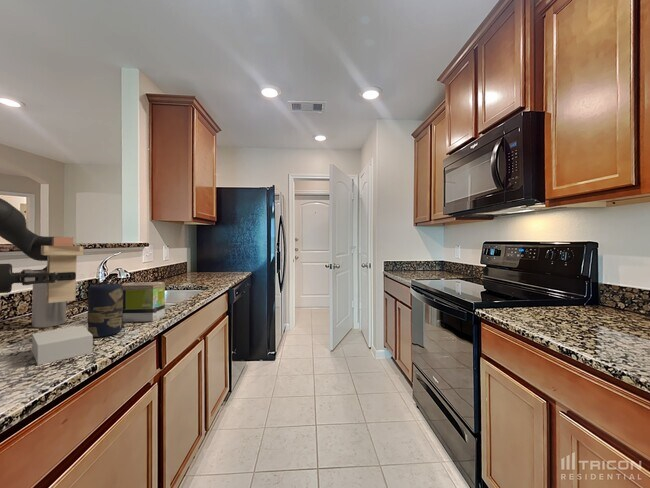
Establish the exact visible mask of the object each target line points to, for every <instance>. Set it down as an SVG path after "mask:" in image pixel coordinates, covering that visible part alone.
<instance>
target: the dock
mask: <svg viewBox="0 0 650 488" xmlns="http://www.w3.org/2000/svg"><path fill="white" fill-rule="evenodd" d="M31 339H32V340H31V342H32V344H31V347H32V349H31V352H32V354H33V357H34V359H35V362H36V364H37V366H39V365H45V364H49V363H52V362H58V361H62V360H67V359H71V358H75V357H79V356H83V355H89V354H93V350H94V349H93V348H94V346H93V341H94V338H93V335H92V334H91V333H90V332H89V331H88V329H87V328H85V327H84V326H83V325H79V326H72V327H67V328H65V327H64V328H60V329H53V330H47V331H42V332H35V333H32V334H31Z"/></svg>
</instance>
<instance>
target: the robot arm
mask: <svg viewBox="0 0 650 488" xmlns="http://www.w3.org/2000/svg"><path fill="white" fill-rule="evenodd" d="M0 237H1V238H2V239H4V240H5V241H7V242H8V243H10V244H12V245H13V246H14V247H16V248H17V249H18V250H20V252H22V254H24V255H25V256H27V257H28V258H30V259H31V260H34V261H40V262H47V256H48V255H41V246H52V237H53V236H41V235H38V234H36V233H34V232H32V231H31V230H30V229H29V228H27V219H26V217H25V215H24V214H23V212H21V211H20V210H19V209H18V208H16V207H15V206H13V205H12V204H11V203H10V202H8V201H7V200H5V199H2V198H0ZM47 275H49V280H47ZM75 279H76V280H77V272H76V273H75V272H62V273H58V272H54V273H48V272H47V265H46V266H45V267H44V268H42V269H28V268H27V269H22V270H21V271H20V272H13V265H12V264H11V263H0V294H8V293H11V291H12V289H13V285H14V284H21V285H22V286H31V285H32V301H31V303H32V304H31V312H32V313H31V326H32V328H49V327H55V326H60V325H64V324H65V323H66V322H67V301H64V302H54V303H48V302H47V301H46V291H47V283H53V282H57V281H64V280H75Z"/></svg>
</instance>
